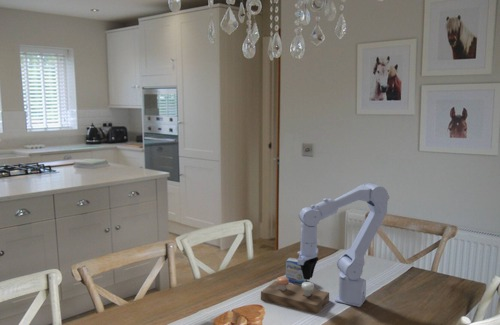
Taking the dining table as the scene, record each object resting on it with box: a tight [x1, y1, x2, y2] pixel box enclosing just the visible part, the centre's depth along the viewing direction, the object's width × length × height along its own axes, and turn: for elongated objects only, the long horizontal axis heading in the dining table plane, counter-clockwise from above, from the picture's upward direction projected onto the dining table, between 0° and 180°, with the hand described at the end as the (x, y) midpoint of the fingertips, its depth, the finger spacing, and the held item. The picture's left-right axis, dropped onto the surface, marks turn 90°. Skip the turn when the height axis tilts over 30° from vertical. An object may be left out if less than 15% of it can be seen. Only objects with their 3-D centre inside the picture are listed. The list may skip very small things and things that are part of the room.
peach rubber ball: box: [276, 276, 290, 291], centre depth 162 cm, size 4×4×4 cm
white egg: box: [301, 281, 315, 297], centre depth 157 cm, size 4×4×4 cm
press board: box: [260, 280, 330, 314], centre depth 160 cm, size 22×12×3 cm, turn 60°
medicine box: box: [285, 257, 308, 285], centre depth 178 cm, size 8×4×9 cm, turn 62°
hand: (308, 278), depth 157 cm, fingers closed
